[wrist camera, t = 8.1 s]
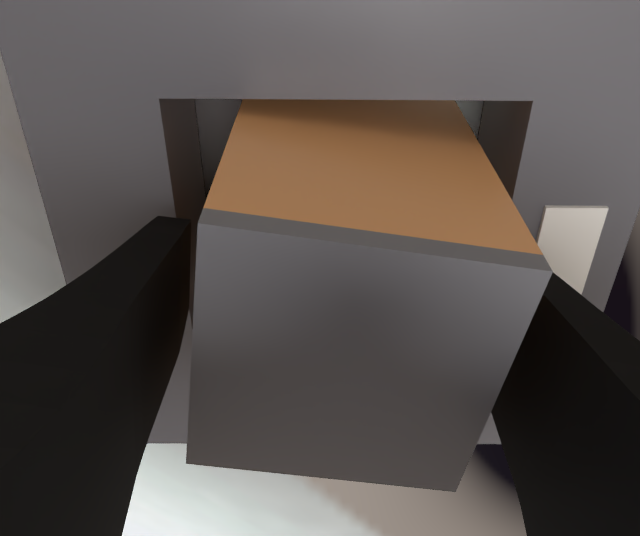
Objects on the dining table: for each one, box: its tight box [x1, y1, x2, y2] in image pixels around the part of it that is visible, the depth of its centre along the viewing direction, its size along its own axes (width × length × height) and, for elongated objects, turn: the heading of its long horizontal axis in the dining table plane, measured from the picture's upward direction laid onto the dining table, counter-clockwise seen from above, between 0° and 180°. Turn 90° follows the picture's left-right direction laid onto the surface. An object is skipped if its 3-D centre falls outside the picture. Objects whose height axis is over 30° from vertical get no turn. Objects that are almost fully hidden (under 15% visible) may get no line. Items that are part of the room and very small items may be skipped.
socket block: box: [0, 0, 640, 444], centre depth 13 cm, size 12×12×3 cm
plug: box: [186, 99, 553, 492], centre depth 12 cm, size 4×4×7 cm
